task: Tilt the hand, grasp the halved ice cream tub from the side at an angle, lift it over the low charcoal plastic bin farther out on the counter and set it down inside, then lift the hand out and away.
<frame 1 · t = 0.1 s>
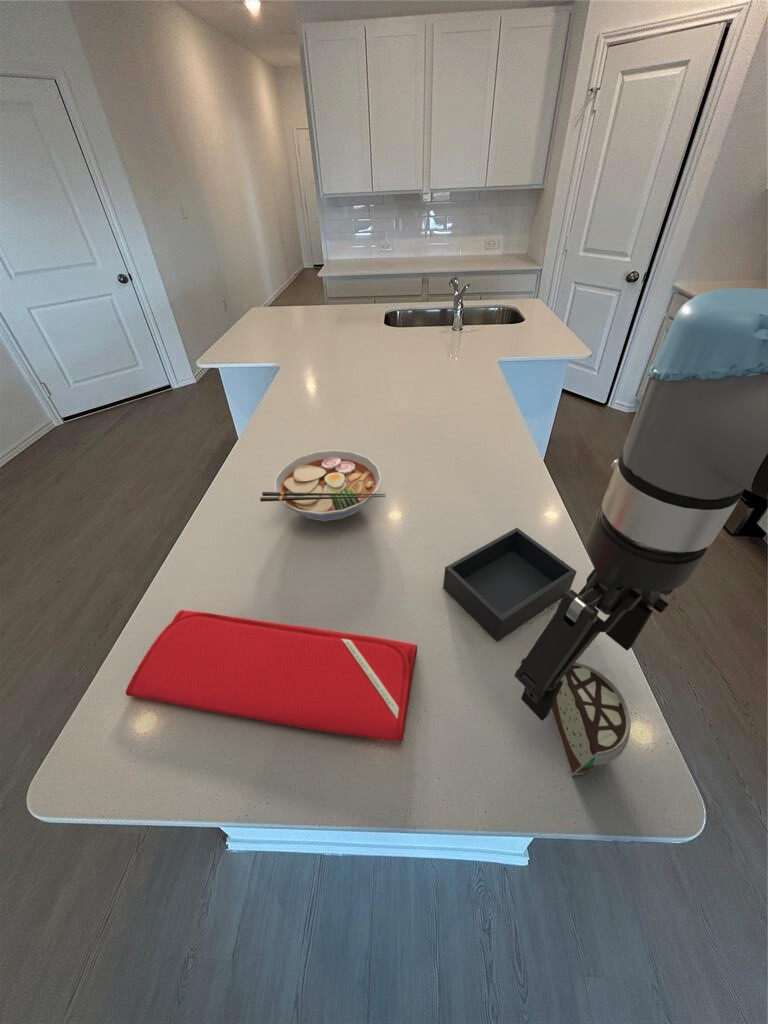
hand: (578, 672, 46), 19 cm above the counter, tool pointing down, fingers open, 13 cm apart
halved ice cream tub: (582, 738, 59), on the counter
bin: (505, 590, 79), on the counter
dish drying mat: (279, 674, 68), on the counter
ramen bowl: (331, 505, 98), on the counter
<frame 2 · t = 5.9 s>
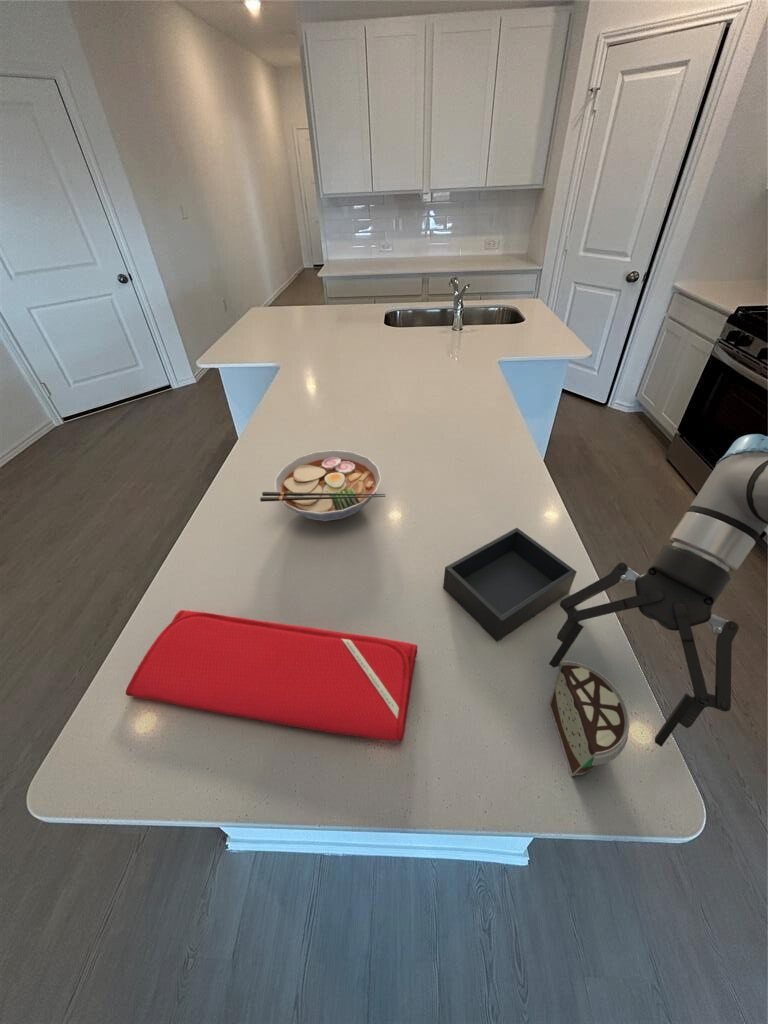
hand: (601, 701, 55), 8 cm above the counter, tool tilted 45°, fingers open, 13 cm apart
nothing on the counter moved.
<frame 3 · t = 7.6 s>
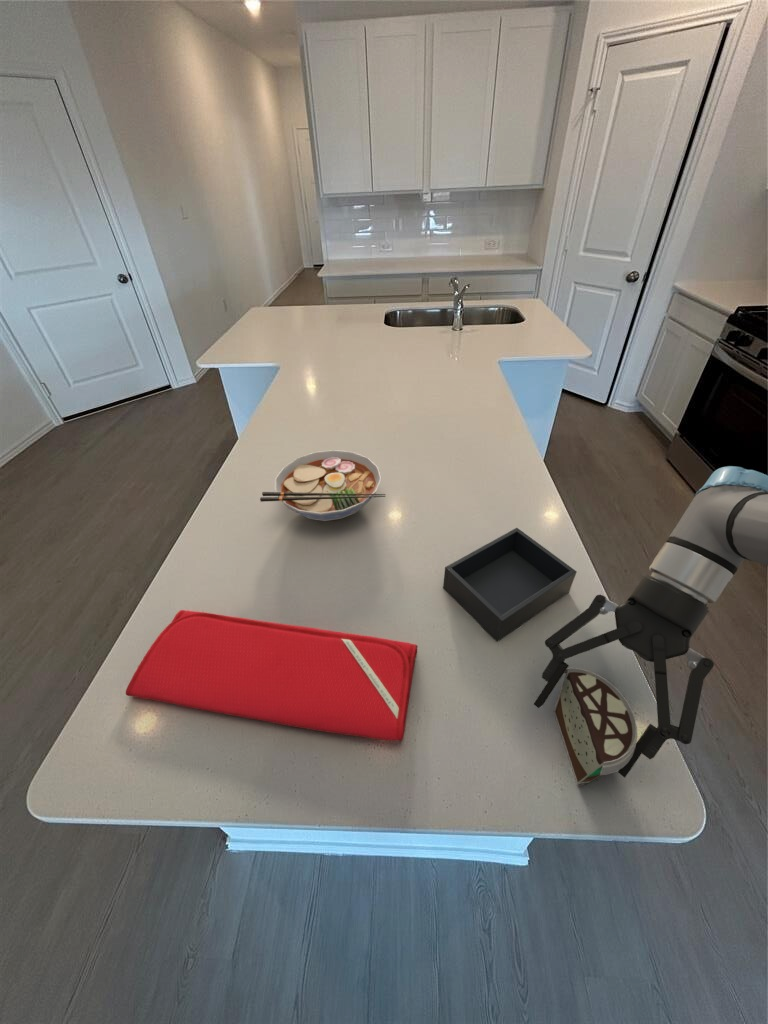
hand: (577, 736, 55), 4 cm above the counter, tool tilted 45°, fingers closed on halved ice cream tub, 11 cm apart
halved ice cream tub: (587, 746, 59), on the counter, touching gripper
everything else where it was.
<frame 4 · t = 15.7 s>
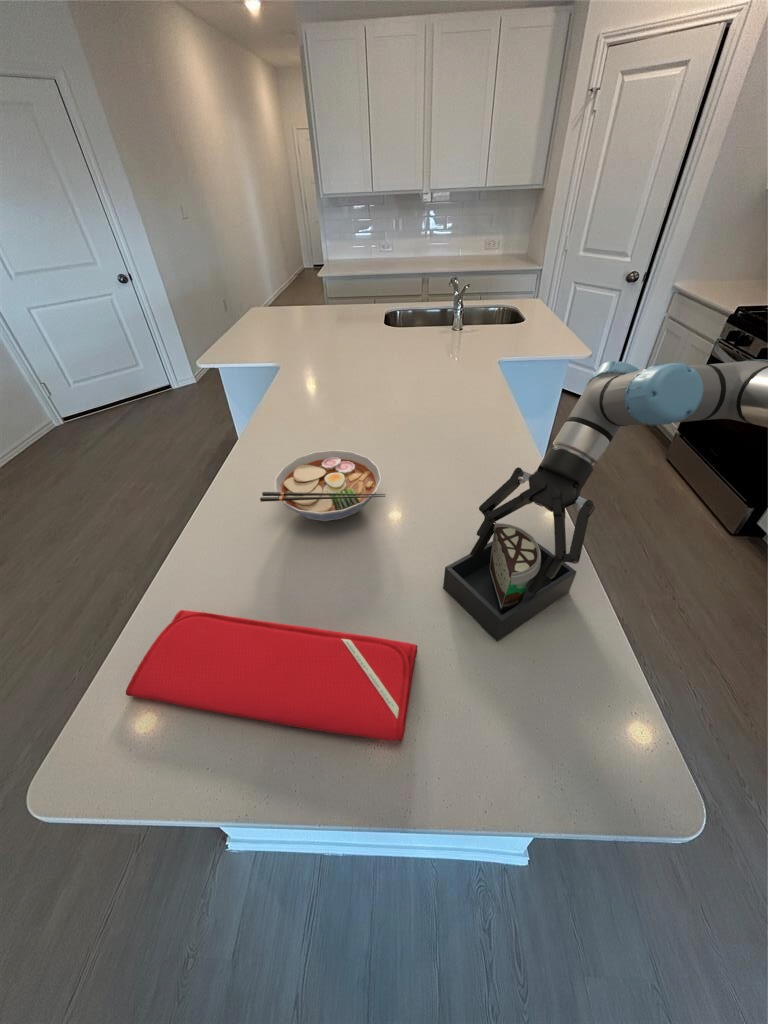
hand: (501, 573, 73), 7 cm above the counter, tool tilted 45°, fingers closed on halved ice cream tub, 11 cm apart
halved ice cream tub: (512, 587, 76), point 2 cm above the counter, touching gripper
everything else where it was.
when the fingers open (7 cm above the counter, at t = 16.5 s): halved ice cream tub drops 1 cm, resting on bin.
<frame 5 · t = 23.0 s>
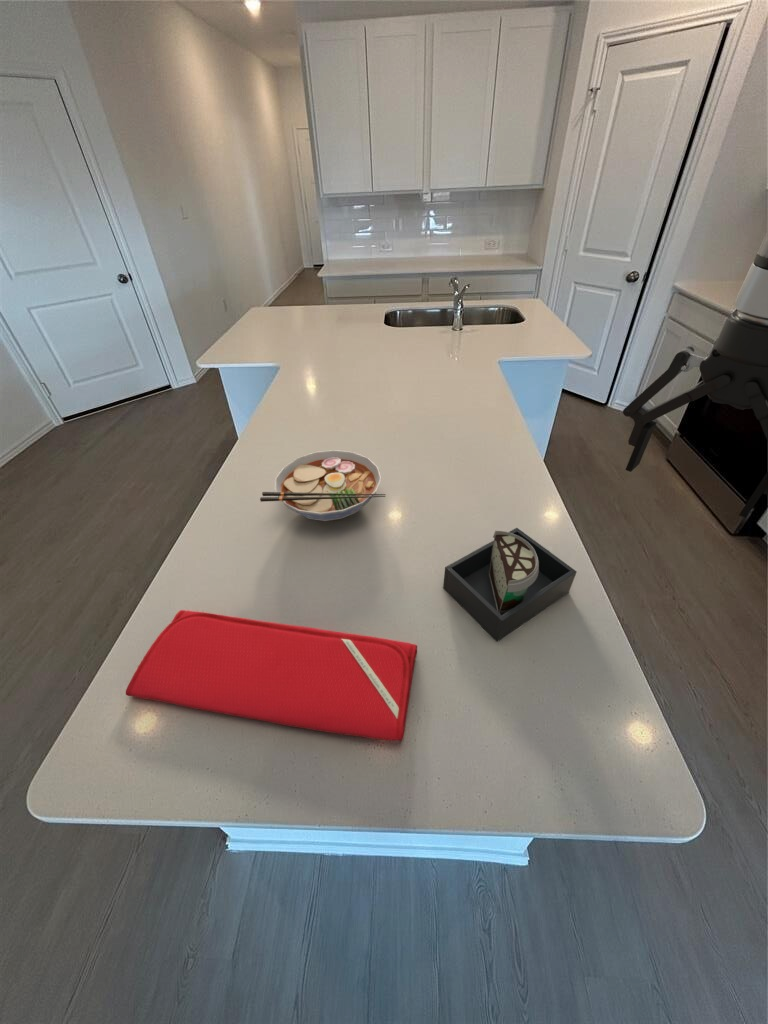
hand: (685, 488, 57), 27 cm above the counter, tool pointing down, fingers open, 13 cm apart
halved ice cream tub: (510, 594, 77), resting on bin
everything else where it was.
at the end: halved ice cream tub inside the target area in the bin (1.4 cm from its centre), point 0.4 cm above the bin's base; the gripper is holding nothing; halved ice cream tub tilted 0° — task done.
